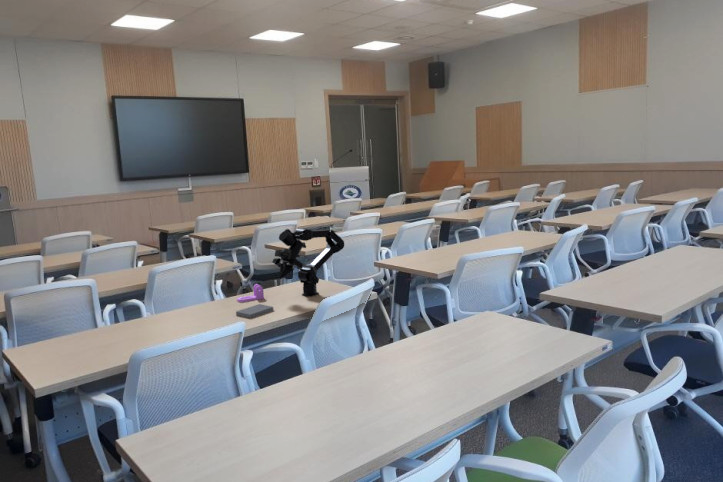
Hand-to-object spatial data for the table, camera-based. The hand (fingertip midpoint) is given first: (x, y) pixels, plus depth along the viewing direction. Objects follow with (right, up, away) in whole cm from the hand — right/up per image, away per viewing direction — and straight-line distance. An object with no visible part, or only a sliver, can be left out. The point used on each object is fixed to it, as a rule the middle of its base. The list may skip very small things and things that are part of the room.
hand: (279, 278), depth 275 cm
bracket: (-17, -12, +14) cm, 25 cm away
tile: (-6, -13, -6) cm, 16 cm away
